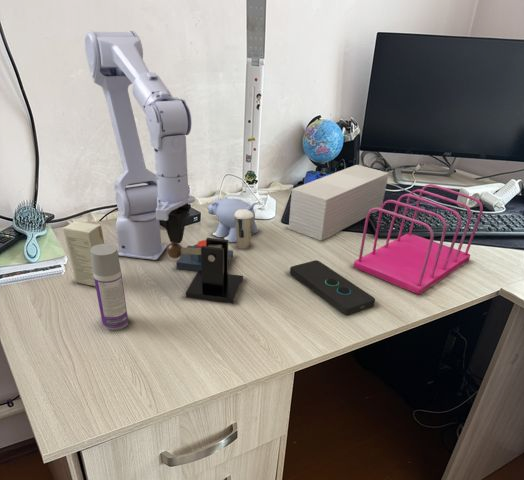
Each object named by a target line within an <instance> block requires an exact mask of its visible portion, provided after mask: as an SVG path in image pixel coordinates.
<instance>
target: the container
mask: <svg viewBox="0 0 524 480" xmlns="http://www.w3.org/2000/svg"><path fill="white" fill-rule="evenodd" d="M118 253H119V250H118V246H116V245H114V244H111V243H104V244H99V245H95V246H93V247H92V248H91V249H90V255H91V261H92V268H93V275H94V281H95V286H94V287H95V290H96V291H95V292H96V296H97V301H98V307H99V312H100V319H101V323H102V326H103V328H104V329H106V330H109V331H117V330H121V329H124V328H125V327H127V326H128V324H129V317H128V310H127V309H128V308H127V303H126V302H127V301H126V296H125V295H126V294H125V288H124V287H125V286H124V280H123V274H122V268H121V263H120V257H119V255H118Z"/></svg>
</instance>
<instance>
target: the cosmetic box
mask: <svg viewBox="0 0 524 480" xmlns="http://www.w3.org/2000/svg"><path fill="white" fill-rule="evenodd" d="M62 230H63V235H64V238H65V243H66V247H67V251H68V256H69V259H70V264H71V268H72V269H71V270H72V273H73V277H74V281H75V283H77V284H81V285H82V284H83V285H87V286H91V287H96V286H95V281H94V275H93V268H92V261H91V255H90V249H91V248H92V247H93V246H95V245H99V244H105V239H104V234H103V228H102V224H98V223H92V222H87V221H81V220H75V221H73V222H71V223H69V224H66V225H65V226H63V227H62Z"/></svg>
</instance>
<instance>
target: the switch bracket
mask: <svg viewBox="0 0 524 480" xmlns="http://www.w3.org/2000/svg"><path fill="white" fill-rule="evenodd" d="M205 240H206V246H202V247H201V264H202V271H200V270H199V271H196V274H195V276H194V277H193V280H192V281H191V283H190V284H189V286H188V288H187V289H186V291H185V298H186V299H194V300H202V301H208V302H217V303H226V304H235V301H236V299H237V297H238V294H239V292H240V289H241V287H242V284H243V282H244V275H239V274H232V273H229V267H228V250H229V241H228V240H225V239H224V238H214V237H206V239H205ZM209 244H221V245H223V248H217V247H208V245H209Z"/></svg>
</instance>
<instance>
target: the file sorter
mask: <svg viewBox="0 0 524 480" xmlns="http://www.w3.org/2000/svg"><path fill="white" fill-rule="evenodd" d="M429 187H431V188H435V189H438V190H442V191H444V192H448V193H451V194H453V195H456V196H457V195H458V196H460V197H462V198H466V199H469V200H472V201H474V202H476V204H477V205H478V206H479V213H478V215H477V218H476V221H475V223H474V226H473V228H472V229H473V230H472V233H471V235H470V238H469V241H468V243H467V246H466V249H465V251H462V247H463V245H464V241H465V238H466V236H467V232H468V230H469V226H470V223H471V220H472V215H473V214H472V210H471V208H470V206H469V205H467V204H466V203H463V202H461V201H458V200H455V199H452V198H449V197H447V196H443V195H440V194H437V193H434V192H430V191H427V190H426V189H427V188H429ZM416 193H419V195H415V194H416ZM423 194H425V195H428V196H431V197H433V198H434V197H435V198H437V199H441V200H443V201H447V202H450V203H452V204H456V205H459V206H461V207H463V208H464V209H465V210H466V211H467V213H468V214H467V215H468V218H467V220H466V224H465V228H464V230H463V232H462V235H461V239H460V242H459V244H458V248H457V249H456V248H454V246H455V244H456V241H457V238H458V235H459V233H460V229H461V226H462V217H461V215H460V213H459V212H457V210H454V209H453V208H450V207H448V206H445V205H443V204H440V203H437V202H435V201H432V200H429V199H426V198H423V197H422V196H423ZM405 197H407V200H406V203H405V202H401V200H402V199H403V198H405ZM411 198H412V199H415V200H417V201H416V205H415V206H414V205H411V204H410V201H411ZM421 202H423V203H426V204H429V205H431V206H435V207H436V208H439V209H442V210H445V211H447V212H450V213H452V214H453V215H454V216H456V218H457V226H456V229H455V232H454V235H453V238H452V240H451V244H450V246H448V245H445V244H444V241H445V236H446V233H447V230H448V229H447V228H448V225H447V221H446V219H445V218H444V217H443V216H442V215H441V214H439V213H436V212H434V211H431V210H428V209H427V210H426V209H423V208H420V207H419V206H420V204H421ZM387 204H395V207H394V211H390V210H387V209H384V208H385V206H386V205H387ZM399 206H401V207H405V208H404V211H403V214H400V213H398V209H399ZM408 209H410V210H413V211H414V213H413V216H412V218H411V217H410V216H407V213H408ZM373 211H377V212H379V213H378V218H377V224H376V230H375V234H374V235H375V236H374V241H373V246H372V251H371V252H369V253H367V254H365V255H363V254H364V253H363V252H364V248H365V242H366V236H367V230H368V224H369V219H370V216H371V215H370V214H371V213H372V212H373ZM418 212H420V213H423V214H427V215H430V216H432V217H436V218H437V219H439V220H440V221H441V223H442V224H443V228H442V229H443V230H442V234H441V238H440V241H439V242H437V241H434V238H435V235H434V230H433V228H432V227H431V226H430V225H429V224H427V223H426V222H423V221H421V220H418V219H416V218H417V215H418ZM483 212H484V207H483V203H482V201H481V200H479V198H477V197H474V196H471V195H468V194H465V193H463V192H459V191H457V190H454V189H450V188H446V187H443V186H440V185H437V184H433V183H428V184H425V185H424V186H423V187H422V188H421V189H420V188H419V189H418V188H417V189H414V190H412V191H411V192H410V193H404V194H402V195H400V196H399V197H398V198H397V200H394V199H387V200H385V201H383V204H382V206H381V208H373V209H371V210H370V211H369V212H368V214H367V216H366V218H365V221H364V225H363V231H362V232H363V233H362V238H361V244H360V250H359V255H358V258H357V259H355V260H354V262H353V266H352V267H353V268H354V269H357V270H359V271H362V272H364V273H367V274H369V275H371V276H373V277H376V278H377V279H381V280H383V281H385V282H388V283H390V284H393V285H395V286H397V287H399V288H402V289H405V290H407V291H409V292H412V293H414V294H416V295H421V294H422V293H424V292H425V291H427V290H428V289H429V288H431V287H432V286H434V285H435V284H437V283H438V282H440V281H441V280H443V279H444V278H445V277H447V276H448V275H450V274H451V273H453V272H454V271H456V270H457V269H458V268H460V267H461V266H463V265H464V264H466V263H467V262H469V261H470V258H471V254H470V253H469V251H470V248H471V245H472V242H473V240H474V237H475V234H476V231H477V229H478V226H479V223H480V221H481V218H482V215H483ZM383 213H384V214H387V215H390V216H392V218H391V221H390V224H389V225H390V226H389V230H388V233H387V237H386V242H385V244H384V245H383V246H380V247H378V248H377V244H378V237H379V232H380V227H381V222H382V216H383ZM396 218H399V219H401V222H400V227H399V228H400V229H399V231H398V236H397V238H396V239H394V240H392V241H390V239H391V235H392V231H393V228H394V224H395V221H396ZM405 220H406V221H408V222H410V223H411V224H410V227H409V231H408V233H409V234H407V233H406V234H405V233H404V235H402V233H403V230H404V225H405ZM415 224H417V225H421V226H423V227H424V228H426V229H427V230H428V231H429V234H430V235H429V237H430V238H429V239H428V238H425V237H422V236H419V235H416V234H413V233H412V232H413V230H414V229H413V228H414V225H415Z"/></svg>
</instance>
